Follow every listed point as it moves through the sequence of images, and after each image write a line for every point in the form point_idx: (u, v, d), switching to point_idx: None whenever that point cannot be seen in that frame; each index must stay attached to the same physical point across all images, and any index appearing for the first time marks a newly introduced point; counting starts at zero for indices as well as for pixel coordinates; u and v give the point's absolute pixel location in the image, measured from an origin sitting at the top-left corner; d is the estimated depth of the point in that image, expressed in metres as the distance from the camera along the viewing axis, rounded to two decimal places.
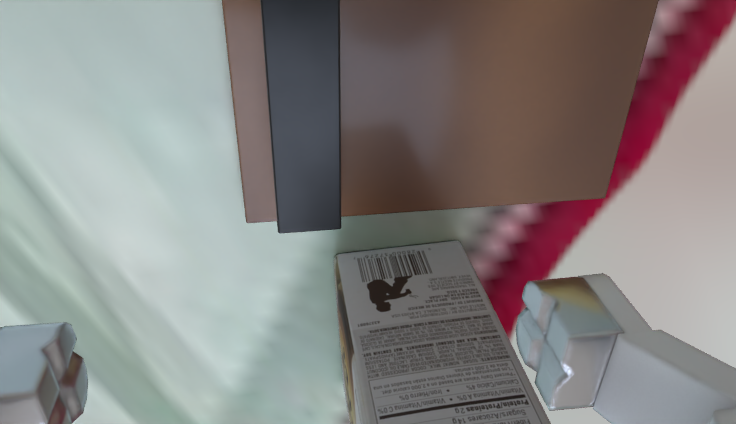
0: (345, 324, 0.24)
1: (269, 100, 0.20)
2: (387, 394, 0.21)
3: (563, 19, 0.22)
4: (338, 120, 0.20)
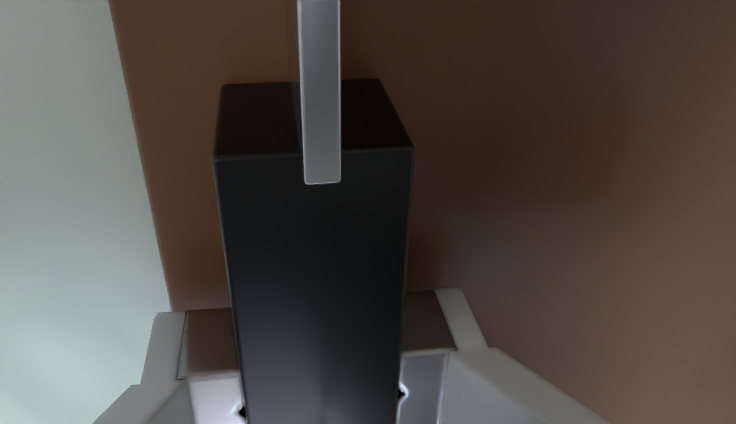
0: None
1: (244, 381, 0.09)
2: None
3: None
4: (393, 401, 0.10)
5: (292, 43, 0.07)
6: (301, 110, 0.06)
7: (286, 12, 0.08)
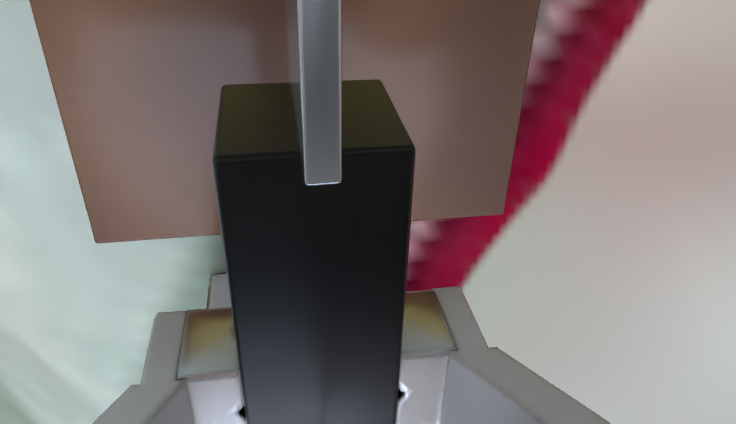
0: None
1: (244, 382, 0.09)
2: None
3: (432, 17, 0.20)
4: (393, 402, 0.09)
5: (293, 44, 0.07)
6: (302, 111, 0.06)
7: (287, 12, 0.08)
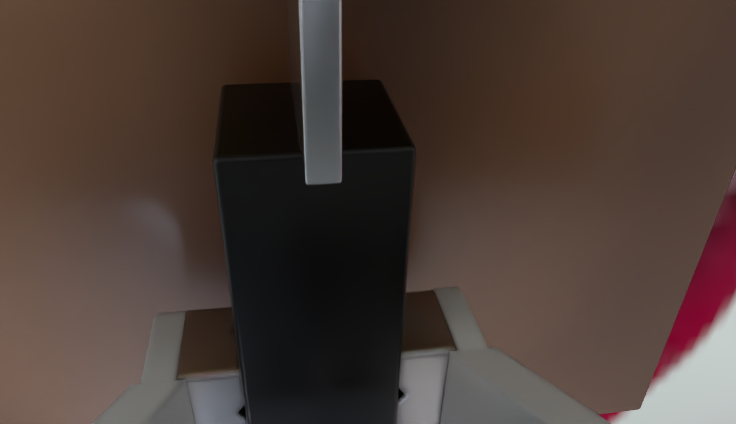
0: None
1: (244, 382, 0.09)
2: None
3: (576, 153, 0.12)
4: (393, 402, 0.09)
5: (293, 44, 0.07)
6: (302, 111, 0.06)
7: (287, 12, 0.08)
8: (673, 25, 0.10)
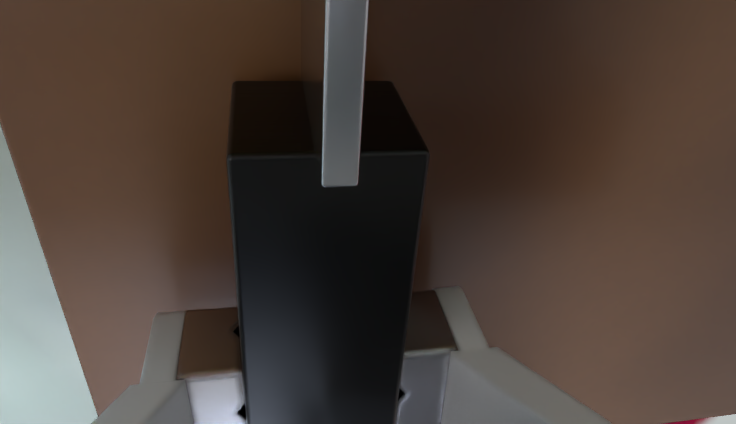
0: None
1: (246, 380, 0.09)
2: None
3: (716, 157, 0.11)
4: (393, 403, 0.10)
5: (312, 44, 0.07)
6: (323, 113, 0.06)
7: (303, 11, 0.08)
8: None
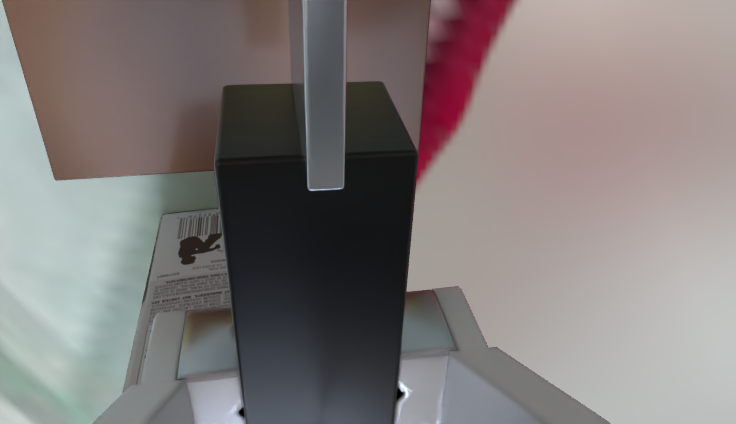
0: (148, 276, 0.25)
1: (243, 383, 0.09)
2: None
3: None
4: (392, 404, 0.10)
5: (296, 47, 0.07)
6: (305, 117, 0.06)
7: (290, 14, 0.08)
8: None
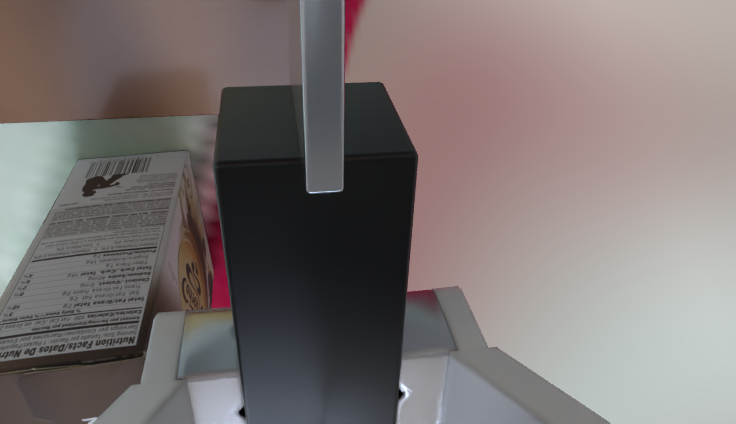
0: (52, 206, 0.29)
1: (244, 386, 0.09)
2: (49, 247, 0.26)
3: None
4: (393, 405, 0.09)
5: (295, 49, 0.07)
6: (304, 119, 0.06)
7: (288, 15, 0.08)
8: None
